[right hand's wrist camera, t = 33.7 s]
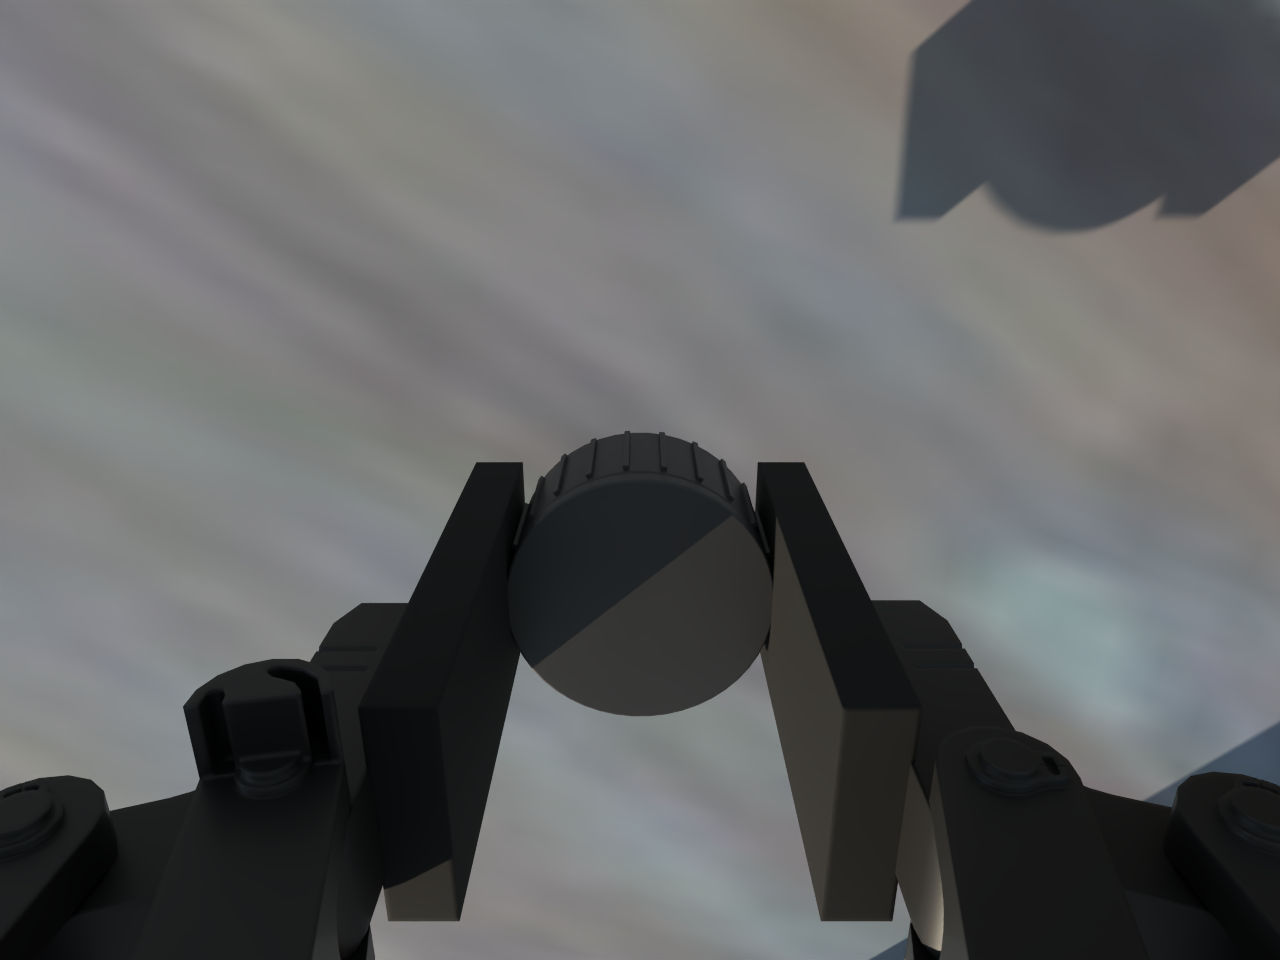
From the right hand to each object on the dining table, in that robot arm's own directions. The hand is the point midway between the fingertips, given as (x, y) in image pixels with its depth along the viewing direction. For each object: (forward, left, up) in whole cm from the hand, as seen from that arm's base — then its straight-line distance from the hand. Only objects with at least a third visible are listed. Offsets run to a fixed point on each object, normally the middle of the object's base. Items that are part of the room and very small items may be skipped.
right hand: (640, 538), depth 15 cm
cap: (0, 0, +2) cm, 2 cm away
